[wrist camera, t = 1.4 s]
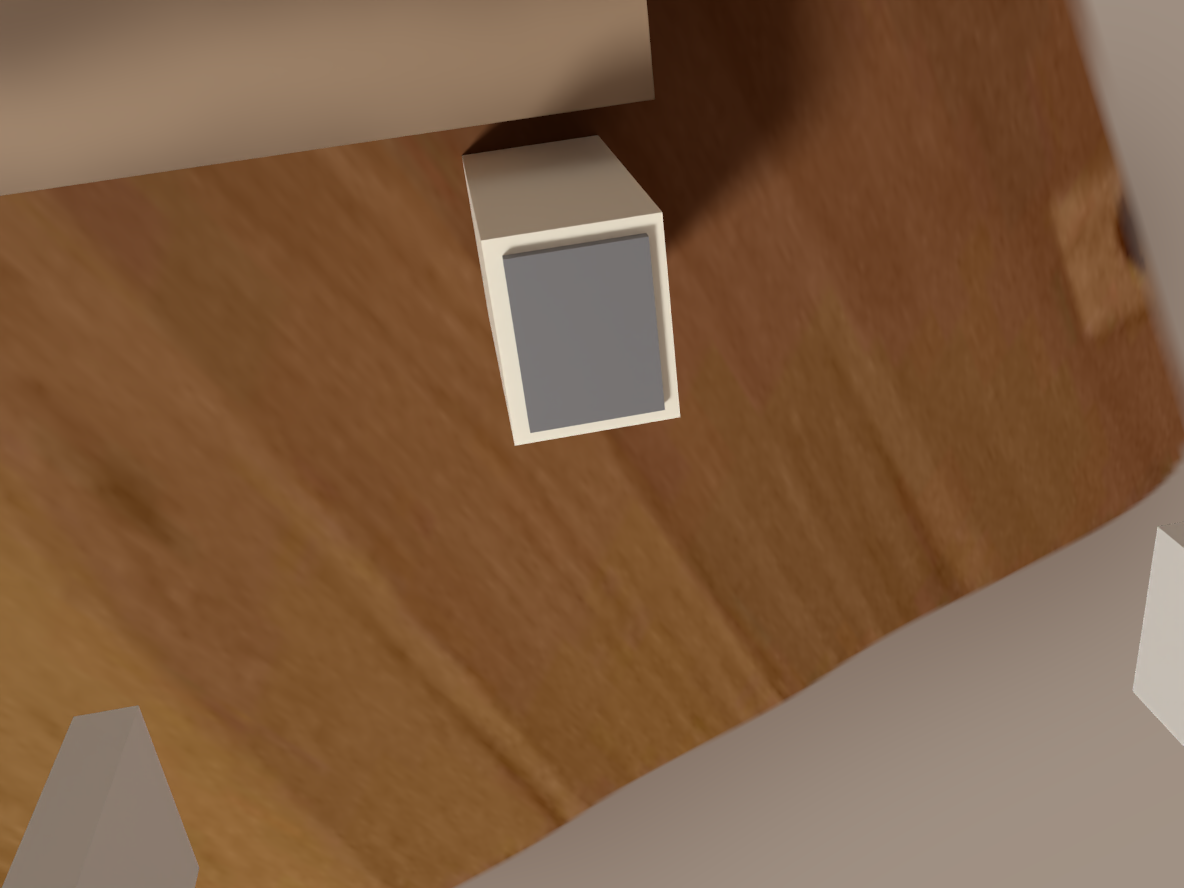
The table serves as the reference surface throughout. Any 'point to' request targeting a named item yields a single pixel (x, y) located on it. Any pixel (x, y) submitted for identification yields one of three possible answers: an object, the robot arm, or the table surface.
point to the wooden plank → (290, 76)
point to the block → (573, 288)
